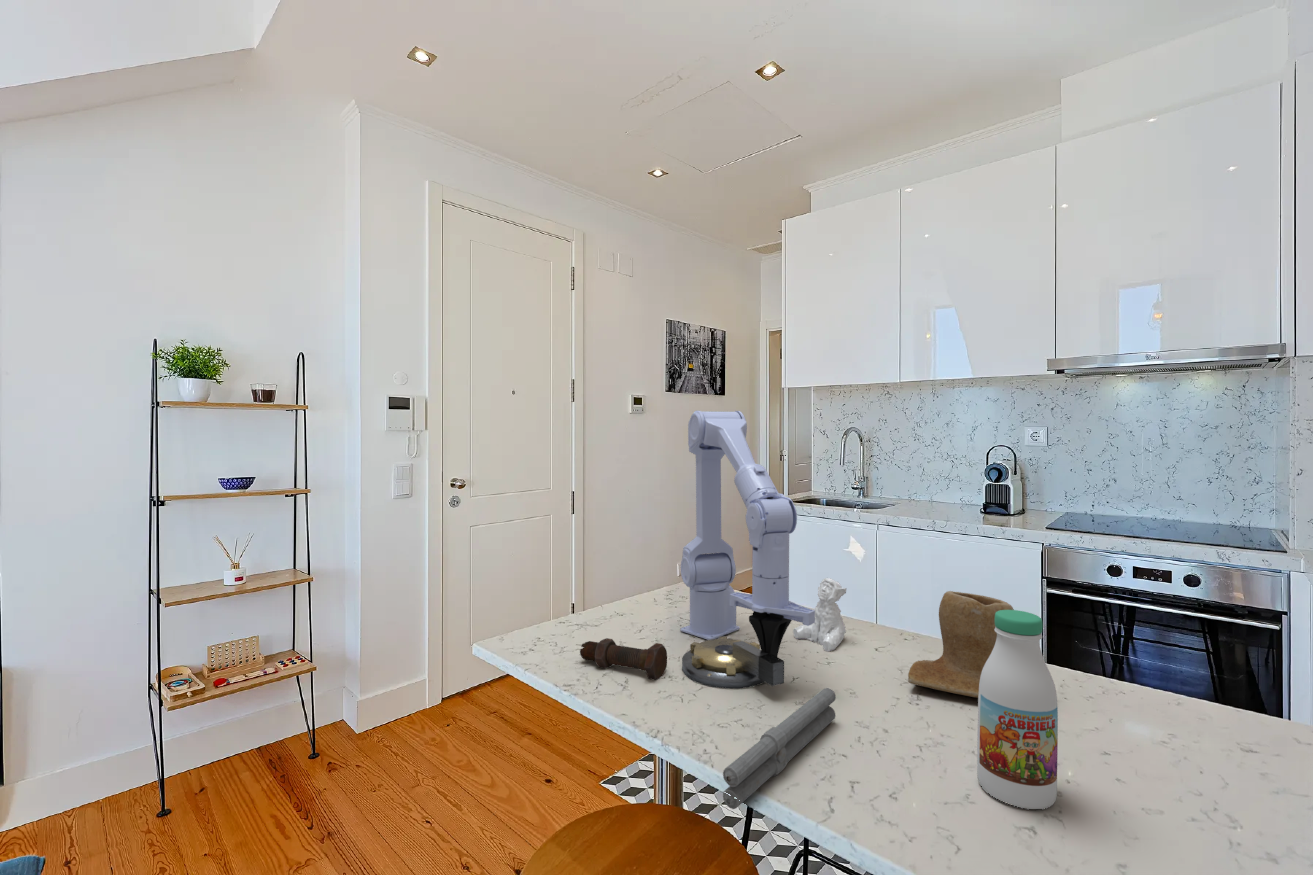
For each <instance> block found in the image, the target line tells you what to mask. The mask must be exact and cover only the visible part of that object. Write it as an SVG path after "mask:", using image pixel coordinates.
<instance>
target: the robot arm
mask: <svg viewBox="0 0 1313 875" xmlns="http://www.w3.org/2000/svg"><path fill="white" fill-rule="evenodd" d="M689 418H690V419H689V421H688V424H687V426H688V427H687V430H688V431H687V433H688V434H687V437H688V438H687V439H688V441H687V442H688V443H687V444H688V451H689V453H691V454H693V455H695V495H696V496H695V501H696V502H695V503H696V504H695V506H696V507H695V509H696V510H695V512H696V514H695V515H696V517H695V518H696V519H695V521H696V522H695V523H696V525H695V526H696V531H695V532H696V534H695V535H696V536H695V537H694V538H693V539H692V540H691V541H689V542H688V543H687V544H686V545H684V546H683V547H682V558H681V562H680V575H681V580H682V582H683V583H684V585H685V586H686V587H688V588H689V625H686V626H683V627H681V628H680V632H682V633H686V634H688V635H691V636H695V637H698V638H701V639H704V640H706V641H707V640H712V639H719V637H725V635H729V634H731V633H734V632H736V631H738V630H740V629H741V628H740V626H739V625H737V607H740V608H744V609H747V610H751V611H753V612H752V614H751V615H749V616H748V623H749V624H750V625H751V627H752V629H753V631H754V633H755V635H756V638H757V641H758V644H759V645H760V650H762V651H764V652H766V653H768V654H772V655H774V656H776V657H778V655H779V650H780V648H781V644H782V640H783V638H784V636H785V633H786V631H787V630H788V627H789V626H790V624H791V623H792V621H795V622H798V623H802V625H807V626H809V625H811V624H813V623H815V610H814V609H812V608H807V607H805V606H802V605H800V604H797V603H795V602H793V601H791V600H790V534H792V533H793V532H794V531H795V530H796V527H797V524H798V523H797V522H798V514H797V509H796V506H795V503H794V502H793V499H791V498H790V497H788V496H785V495H784V493H780V492H779V491H778V489H777V487H776V486H775V484H774V482H773V480H772V478H771V476H770V474H769V473H768V471H767V469H766V467H765V466H764V465H762V464H759V463H756V461H755V458H754V457H753V453H752V451H751V449H750V447H749V444H748V440H747V432H748V431H747V429H748V422H747V419H746V417H745V415H744V413H743V412H742V411H740V410H735V411H707V410H706V411H703V410H695V411H694V412H693V413H692V414H691V416H690V417H689ZM724 456H726V458H727V459H728V461H729V463H730V464H731V465H732V468H733V469H734V471H735V473H736V474H735V476H734V480H733V481H734V485H735V486H736V489H737V491H738V494H739V495H740V497H741V499H742V501H743V503H744V506H745V507H746V514H745V524H746V527H747V528H746V529H747V530H748V541H749V545H750V546H751V547H752V557H751V558H752V559H751V560H752V561H751V562H752V564H751V566H752V568H751V569H752V573H751V574H752V575H751V577H752V581H751V583H752V585H751V586H752V587H751V588H752V589H751V590H752V591H751V592H752V594H751V593H743V592H739V591H736V592H735V590H734V587H732V586H731V585H730V584H732V583H733V581H735V578H736V574H737V572H736V571H737V567H736V561H735V558H734V549H733V547H732V546H731V545H730V544H729V543H728V542H726V541H725V540H724V539H722V467H721V466H722V462H721V461H722V458H723V457H724Z"/></svg>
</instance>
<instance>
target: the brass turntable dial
mask: <svg viewBox="0 0 1313 875" xmlns="http://www.w3.org/2000/svg"><path fill="white" fill-rule="evenodd" d="M689 647H690V648H689V649H690V653H693V654H694V656H692V666H694V667H695V668H700V667H703V668H706V669H709V670H712V671H717V672H726V675H736V672H744V671H749V672H750V673H752V674H754V675H756V676H757V677H759V679H760V680H762V681H764V683H766V684H767V685H769V686H771V687H775V686H778V685H783V684H784V683H785V659H782V658H780V657H778V656H777V657H776V656H774V655H772V654H768V653H766V652H764V651H762V650H761V648H760V644H759V643H757V642H755V641H754V642H748V641H745V640H740V639H734V638H728V636H721V637H719V638H716V639H712V640H707V639H706V640H704V641H703V640H702V641H701V642H696V641H694V642H691V644H690V646H689Z"/></svg>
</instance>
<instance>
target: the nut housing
mask: <svg viewBox="0 0 1313 875" xmlns="http://www.w3.org/2000/svg"><path fill="white" fill-rule="evenodd" d="M692 656H694V654H693V653H690V650H688V651H686V652H685V653H684V654H683V656H682V658H681V670H682V673H683V674H684V676H686V677H687V678H688V679H689V680H691V681H693V682H695V683H698V684H700V685H703V686H707V687H712V688H717V689H725V690H726V689H729V690H730V689H731V690H732V689H734V690H735V689H746V688H747V689H748V688H752V687H756V686H759V685H762V684H763V683H764V684H765V682H764V681H762V680H760V679H759V677H757V676H756V675H754V674H752V673H750V672H749V671H744V672H736V675H726V672H717V671H712V670H709V669H706V668H703V667H700V668H695V667H694V666H692Z"/></svg>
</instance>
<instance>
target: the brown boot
mask: <svg viewBox="0 0 1313 875" xmlns="http://www.w3.org/2000/svg"><path fill="white" fill-rule="evenodd" d="M938 607H939V608H938V622H939V628H940V635H941V640H942V647H943V649H942V654H941V656H940V657H939V658H938V659H935V660H928V659H922V660H917V661H915V662H913V663H912V664H911V666H910V668H909V670H908V673H907V677H908V678H907V682H908V684H911V685H915V686H919V687H923V688H928V689H932V690H936V691H941V692H945V693H952V694H956V695H959V696H965V697H970V698H971V697H972V698H976V699H978V696H979V682H980V676H981V673H982V670H983V667H984V665H985V663H986V661H987V660H988V658H989V656H990V654H991V653H992V651H993V648H994V645H995V643H996V639H997V633H996V632H995V630H994V629H995V613H996V612H997V611H1000V610H1015V609H1014V607H1013V606H1012V605H1011V604H1010V603H1008V602H1006V601H1004V600H1002V599H999V598H998V599H997V598H994V597H992V596H986V595H981V594H976V593H969V592H961V591H954V590H952V591H951V590H947V591H946V592H945V593H944V594H943V595H942V598H941V601H940V603H939V606H938Z"/></svg>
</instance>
